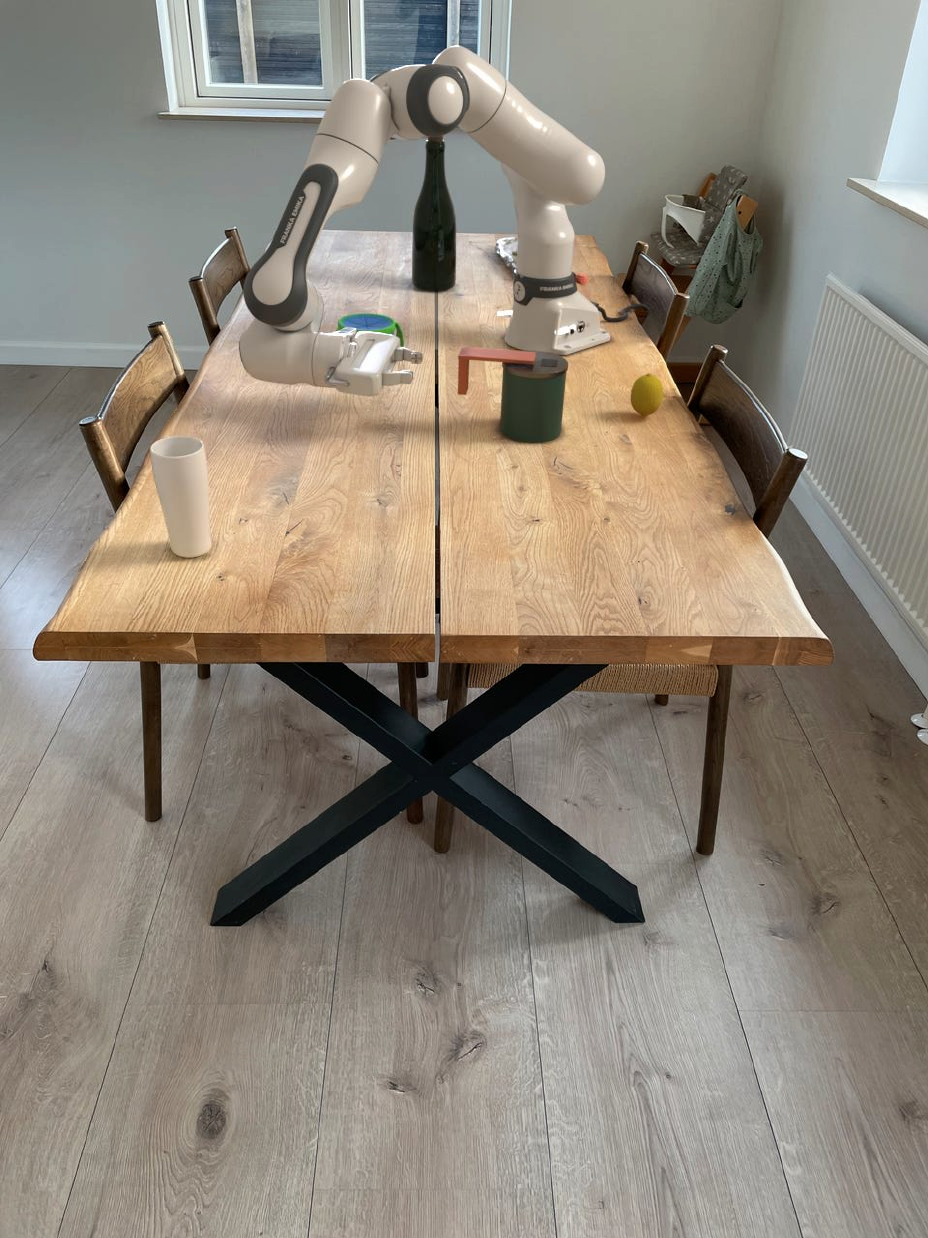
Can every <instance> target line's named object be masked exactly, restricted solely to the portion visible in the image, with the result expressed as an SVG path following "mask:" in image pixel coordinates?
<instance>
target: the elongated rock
mask: <svg viewBox="0 0 928 1238" xmlns="http://www.w3.org/2000/svg"><path fill="white" fill-rule="evenodd" d="M517 249H518V237H509V236H507V237H502V238H500V239H498V240H497V241H496V244H495V250H496V252H495V253H496V255H497V256H498V257H499V258H500V262H501V263H502V264H503V265H504V266H505V268H506V269H507V270H508V271H509V272H510V273H511V274H512V275H513V277H514V271H515V270H516V269H517Z"/></svg>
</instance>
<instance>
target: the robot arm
mask: <svg viewBox="0 0 928 1238" xmlns="http://www.w3.org/2000/svg"><path fill="white" fill-rule="evenodd" d="M457 127H458V128H459V129H460V130H461V131H463V132H464V133H465V134H466V135H467V136H469V137H470V138H471V139H472V140H473V141H474V142H475V143H477V145H479V147H481V148H482V149H483V150H484V151H485V152H486V153H488V154H489V155H490V156H491V157H492V158H493V159H495V160H496V161H499V162H500V167H501V170H502V173H503V175H504V176H505V178H506V180H507V182H508V185H509V187H510V191H511V196H512V200H513V206H514V211H515V216H516V225H517V238H518V249H517V269H516V270H515V271H514V276H513V284H512V287H513V288H512V294H513V303H512V309H511V310H503V311H497V316H507V315H510V319H509V323H508V327H507V330H506V333H505V335H504V342H505V343H506V344H507V345H508V346H510V347H513V348H515V349H517V350H520V351H543V352H549V353H553V354H556V355H559V356H568V355H570V354H574V353H577V352H581V351H583V350H586V349H589V348H592V347H595V346H598V345H601V344H604V343H608V342H610V341H611V335H610V333H609V332H608V331H607V330H605V328H602V327H601V317H602V319H603V320H604V321H606V322H609V323H617V322H622V321H625V320H627V319H628V317H629V315H628V313H627V312H629V311H631V310H635V309H644V310H645V311H648V312H649V311H651V308H650V307H649V306H648V305H647V304H645V303H640V302H639V303H634V304H630V305H628V306H626V307H624V308H622V309H621V311H620V313H621V315H622V316H618V317H609V316H607V315H608V314H607V313H606V310H605V308H603V307H602V306H600V303H598V302H596V301H591V300H589V298H587V297H586V296H584V295H583V294H582V293H581V292H580V291H579V290H578V286H577V284H579V285H580V286H582V287H583V286H586V285H587V284H588V282H589V277H588V276H587V275H586V274H583V273H580V272H579V273H578V274H576V272H574V271H573V261H574V251H575V240H576V239H575V238H576V236H575V229H574V227H573V225H572V223H571V221H570V219H569V217H568V213H567V210H566V206H584V205H587V204H589V203H591V202H593V201H594V200H595V199H596V198H597V197H598V195H599V194H600V193H601V190H602V188H603V187H604V183H605V179H606V167H605V162H604V160H603V158H602V156H601V155H600V154H599V153H598V152H597V151H595V150H594V149H593V148H592V147H590V146H589V145H588V144H586V143H584V142H583V141H581V140H580V139H579V138H578V137H577V136H576V135H574V134H573V133H572V132H570V131H569V130H567V128H565V127H564V126H563V125H562V124H560V123H559V122H557V121H556V120H555V119H553V118H552V117H551V116H549V115H548V114H546V113H545V112H543V110H541V109H539V108H538V107H537V106H536V105H534V104H533V103H532V102H531V101H530V100H528V98H526V96H524V94H523V93H521V92H520V90H519V89H517V88H516V87H515V86H514V85H513V84H512V83H511V82H510V81H509V80H508V79H507V78H506V77H505V76H504V75H503V74H502V73H501V72H500V71H498V70H497V68H495V67H494V66H492V65H491V64H490V63H489V62H488V61H487V60H485V59H484V58H483V57H481V56H480V55H478V54H477V53H475V52H473V51H472V50H470V49H468V48H467V47H464V46H462V45H452V46H449V47H447V48H445V49H444V50H442V51H441V52H440V53H438V55H437V56H436V57H435V59H434V60H433V61H432V63H428V64H410V65H404V66H401V67H397V68H395V69H391V70H390V69H388V70H383V71H380V72H379V73H377V74H375V75H374V76H372V77H371V78H370V79H369V80H367V79H362V78H351V79H348V80H345V81H343V83H342V84H340V85H339V87H338V88H337V90H336V91H335V93H334V95H333V97H332V98H331V100H330V101H329V104H328V106H327V108H326V109H325V112H324V114H323V116H322V119H321V121H320V123H319V125H318V128H317V131H316V133H315V136H314V138H313V142H312V144H311V148H310V151H309V154H308V155H307V159H306V162H305V165H304V167H303V170H302V172H301V174H300V176H299V179H298V181H297V183H296V185H295V187H294V189H293V191H292V193H291V195H290V197H289V200H288V203H287V204H286V207H285V210H284V211H283V213H282V216H281V218H280V220H279V223H278V226H277V228H276V231H275V232H274V235H273V236H272V237H273V238H272V240H271V241H270V244H269V245H268V247H267V249H266V250H265V252H264V253H263V255H261V257H259V259H258V260H257V261H256V262H255V263H254V264H253V265H252V266H251V268H250V269H249V270H248V271H247V274H246V276H245V279H244V282H243V288H242V289H243V291H242V292H243V299H244V303H245V305H246V307H247V310H248V311H249V313H250V315H252V316H253V320H252V321H251V323H250V324H249V326H248V327H247V328H246V329H245V330H244V331H243V332H241V333H240V336H239V342H238V352H239V357H240V362H241V364H242V367H243V369H244V370H245V372H246V373H247V374H248V375H249V376H251V377H252V378H253V379H255V380H258V381H262V382H267V383H272V384H280V385H291V386H292V385H293V386H294V385H298V384H305V385H306V384H307V385H310V386H312V387H317V388H328V389H329V388H330V389H335V390H336V391H338V392H340V393H342V394H343V393H344V394H348V395H354V396H355V395H356V396H361V397H362V396H363V397H376V396H379V395H380V394H381V391H382V390H383V388H384V387H392V386H397V385H411V384H412V383H413V381H414V371H412V370H407V369H402V370H401V371H393V369H394V368H395V366H396V364H397V362H403V361H405V362H409V363H410V364H411V365H421V364H422V362H423V360H424V353H423V351H421V350H413V349H410V348H407V347H405V346H404V347H400V338H398V337H396V335H395V334H393V335H390V334H384V333H376V332H366V331H363V332H358V333H356V329H355V328H349V327H347V328H344V329H342V330H339V331H337V332H335V331H334V332H320V330H321V329H320V328H321V325H322V321H323V316H324V310H325V308H324V307H325V304H324V298H323V296H322V293H321V292H320V290H319V288H318V287H317V286H316V285H315V284H314V283H313V282H312V281H311V280H310V279H309V278H308V266H309V262H310V260H311V258H312V255H313V253H314V251H315V248H316V246H317V243H318V241H319V239H320V236H321V235H322V231H323V230H324V227H325V225H326V223H327V221H328V219H329V218H330V217H331V216H332V215H333V214H334V213H335V212H337V211H340V210H346V209H350V208H353V207H355V206H357V205H359V204H360V203H362V201H363V200H364V198H365V196H366V195H367V193H368V191H369V190H370V188H371V186H372V184H373V181H374V179H375V177H376V174H377V171H378V168H379V166H380V163H381V160H382V157H383V153H384V150H385V148H386V146H387V144H388V143H389V141H390V140H391V141H392V140H402V141H418V140H422V139H428V137H440V136H443V137H444V136H445V135H448V134H449V133H451V132H453V131H454V130H455V129H456V128H457ZM600 313H601V314H600Z"/></svg>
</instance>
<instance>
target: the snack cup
mask: <svg viewBox="0 0 928 1238" xmlns="http://www.w3.org/2000/svg"><path fill="white" fill-rule="evenodd" d="M347 327H349V328H355V329H356V333H358V332H363V331H366V332H376V333H384V334H390V335H395V336H396V337H398V338H400V347H405V337H404V331H403V329H402V326H401V325H400V323H399V322H397V321H395V319H394V318H392V317H390V316H387V315H383V314H378V313H368V312H367V313H363V312H362V313H353V314H352V313H351V314H347V315H344V316H342V317H341V318H339V320H338V321H337V328H336V329H335V331H334V332H337V331H339V330H342V329H344V328H347ZM395 332H396V334H395Z"/></svg>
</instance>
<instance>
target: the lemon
mask: <svg viewBox="0 0 928 1238" xmlns="http://www.w3.org/2000/svg"><path fill="white" fill-rule="evenodd" d="M663 387H664V386H663V384H662V381H661V380H660V379H659V378H658V377H657V376H655V374H653V373H651V372H648V373H646V374H643V375H640V376H639V377H638V378H636V380H635V381H634V383H633V385H632V388H631V391H630V404H631V407H632V409H633V410H634V411H635V412H636V413H637V414H639V415H640V416H641V417H642V418H646V417H648V416H650V415H653V414H654V413H656V412H657V411H658V410H659V409H660V407H661V405H662V403H663V401H664V400H663V399H664V388H663Z"/></svg>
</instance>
